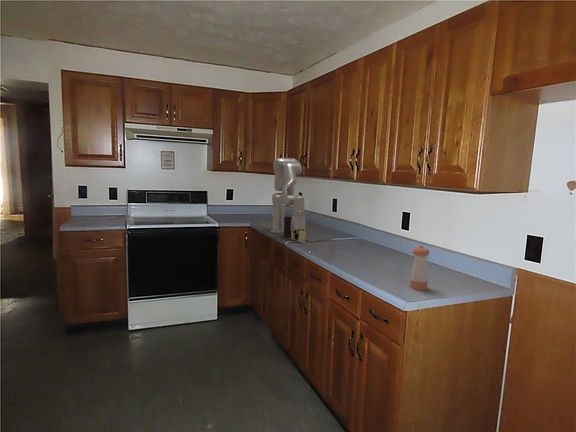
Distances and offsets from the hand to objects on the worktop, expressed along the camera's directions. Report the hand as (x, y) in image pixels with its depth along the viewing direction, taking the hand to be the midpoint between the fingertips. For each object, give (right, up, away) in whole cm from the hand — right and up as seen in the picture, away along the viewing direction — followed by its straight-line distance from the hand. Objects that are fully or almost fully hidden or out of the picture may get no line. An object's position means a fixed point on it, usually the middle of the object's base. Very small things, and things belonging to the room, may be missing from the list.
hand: (298, 239), depth 261 cm
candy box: (0, -2, 0) cm, 2 cm away
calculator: (-5, +1, +18) cm, 18 cm away
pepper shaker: (+52, -16, -95) cm, 110 cm away
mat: (+13, -1, +7) cm, 15 cm away
